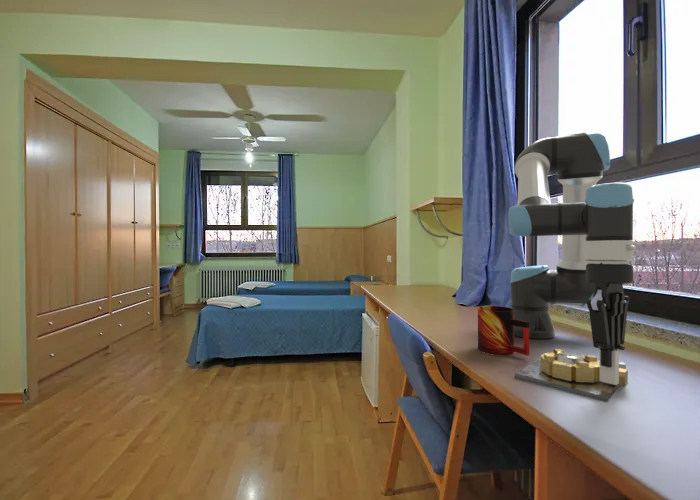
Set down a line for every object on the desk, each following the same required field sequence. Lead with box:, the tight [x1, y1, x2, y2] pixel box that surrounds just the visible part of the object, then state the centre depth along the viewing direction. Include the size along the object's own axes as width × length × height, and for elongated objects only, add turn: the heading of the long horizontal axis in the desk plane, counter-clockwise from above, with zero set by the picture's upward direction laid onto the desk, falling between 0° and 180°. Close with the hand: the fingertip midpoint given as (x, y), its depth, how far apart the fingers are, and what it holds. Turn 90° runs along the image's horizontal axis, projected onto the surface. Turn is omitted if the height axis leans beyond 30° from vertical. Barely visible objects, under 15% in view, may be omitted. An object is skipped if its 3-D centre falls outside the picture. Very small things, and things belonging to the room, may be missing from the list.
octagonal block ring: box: [539, 348, 629, 388], centre depth 76 cm, size 16×11×4 cm
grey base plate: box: [514, 352, 627, 403], centre depth 77 cm, size 17×18×5 cm
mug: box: [477, 305, 530, 356], centre depth 99 cm, size 10×14×12 cm
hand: (609, 381), depth 69 cm, fingers closed
